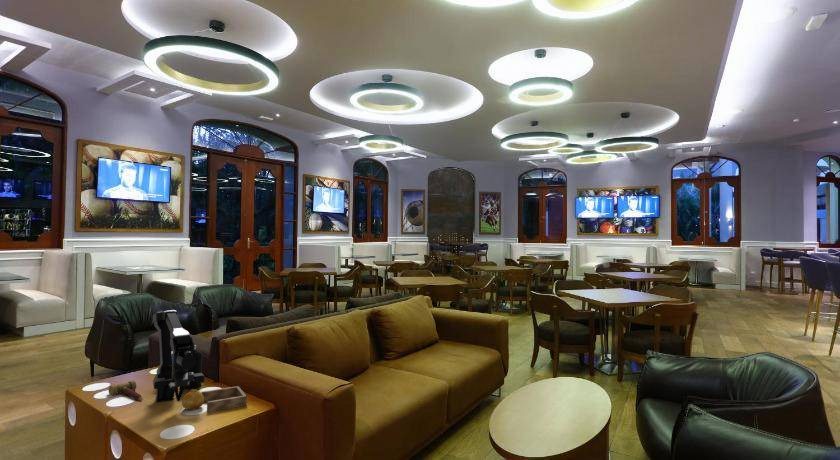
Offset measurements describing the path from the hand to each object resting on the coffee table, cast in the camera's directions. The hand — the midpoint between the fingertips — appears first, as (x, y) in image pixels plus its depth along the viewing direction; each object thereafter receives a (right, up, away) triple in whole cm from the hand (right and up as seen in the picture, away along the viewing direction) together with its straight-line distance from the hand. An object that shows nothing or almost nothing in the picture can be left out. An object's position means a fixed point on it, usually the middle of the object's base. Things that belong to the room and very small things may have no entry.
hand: (178, 401), depth 189 cm
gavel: (-30, -4, +15) cm, 34 cm away
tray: (+15, -5, +10) cm, 18 cm away
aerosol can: (-9, -5, +30) cm, 32 cm away
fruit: (+4, -5, +3) cm, 7 cm away
